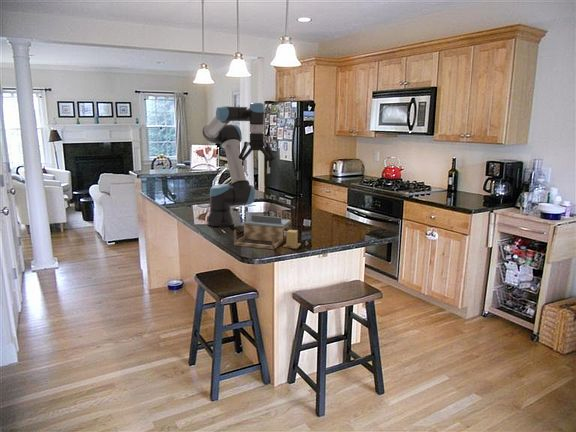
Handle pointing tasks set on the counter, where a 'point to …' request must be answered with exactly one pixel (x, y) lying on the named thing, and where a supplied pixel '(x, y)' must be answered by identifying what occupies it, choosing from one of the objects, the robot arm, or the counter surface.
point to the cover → (267, 221)
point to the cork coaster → (292, 246)
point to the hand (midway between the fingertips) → (256, 172)
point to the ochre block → (291, 237)
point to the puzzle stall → (261, 235)
